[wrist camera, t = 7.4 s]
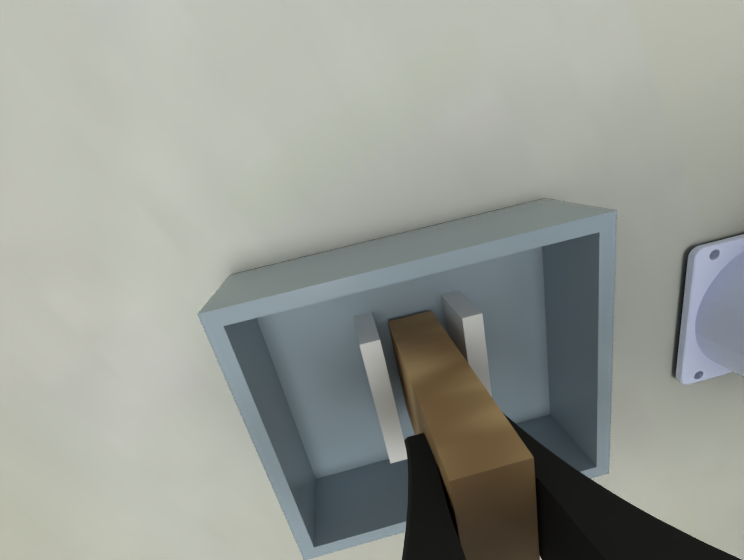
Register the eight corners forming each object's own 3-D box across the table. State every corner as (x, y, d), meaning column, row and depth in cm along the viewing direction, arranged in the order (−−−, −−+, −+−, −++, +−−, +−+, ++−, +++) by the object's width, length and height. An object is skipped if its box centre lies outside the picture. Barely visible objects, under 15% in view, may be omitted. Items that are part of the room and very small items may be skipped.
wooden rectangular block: (431, 310, 15) (533, 457, 8) (446, 400, 17) (541, 588, 10) (387, 321, 15) (449, 481, 8) (406, 410, 17) (472, 609, 10)
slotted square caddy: (545, 198, 15) (616, 210, 12) (554, 412, 19) (609, 473, 16) (230, 274, 15) (197, 314, 11) (308, 480, 19) (304, 560, 15)
